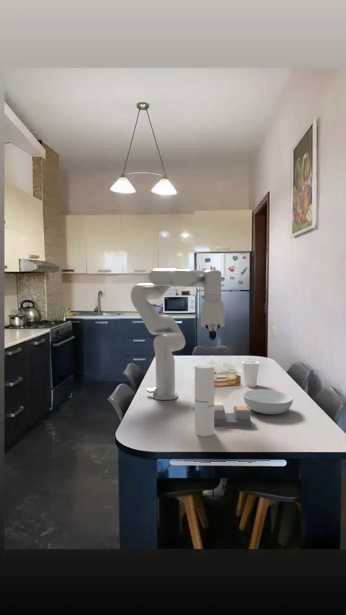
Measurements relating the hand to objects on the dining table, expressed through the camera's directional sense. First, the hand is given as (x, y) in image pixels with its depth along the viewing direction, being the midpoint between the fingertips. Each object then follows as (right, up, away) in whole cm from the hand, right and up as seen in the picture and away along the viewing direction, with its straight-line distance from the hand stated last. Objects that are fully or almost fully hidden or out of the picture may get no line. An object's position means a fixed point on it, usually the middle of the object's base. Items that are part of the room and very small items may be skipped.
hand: (212, 339), depth 160 cm
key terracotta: (+10, -29, -15) cm, 34 cm away
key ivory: (0, -27, -15) cm, 31 cm away
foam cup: (+25, -29, +41) cm, 56 cm away
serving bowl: (+24, -31, -1) cm, 40 cm away
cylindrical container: (-6, -33, -25) cm, 41 cm away
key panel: (+5, -32, -15) cm, 35 cm away
